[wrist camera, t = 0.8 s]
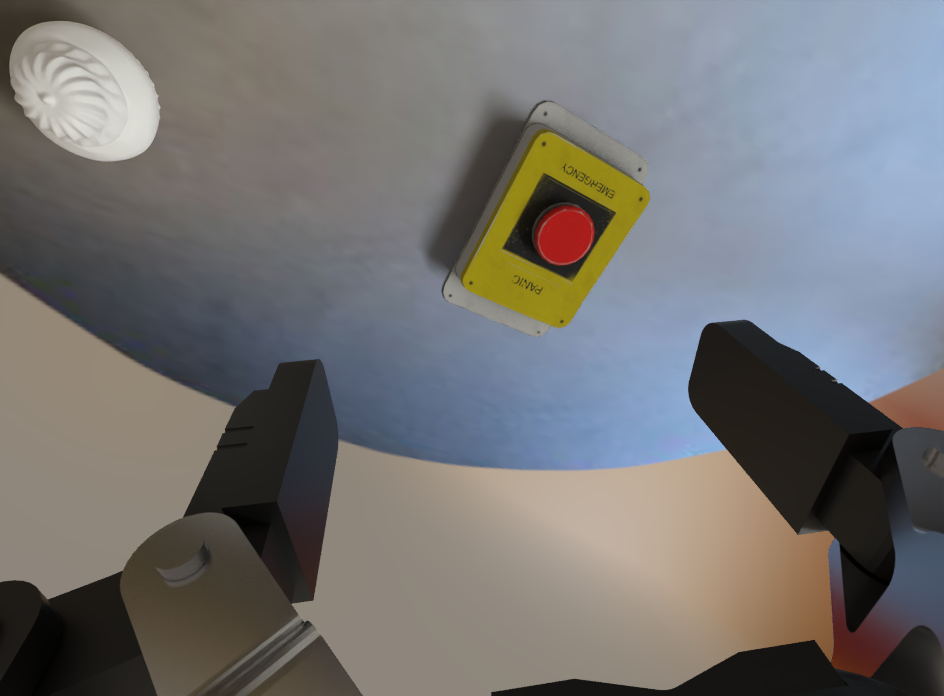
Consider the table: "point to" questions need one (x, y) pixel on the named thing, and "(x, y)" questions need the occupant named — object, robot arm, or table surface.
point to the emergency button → (549, 224)
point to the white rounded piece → (84, 90)
